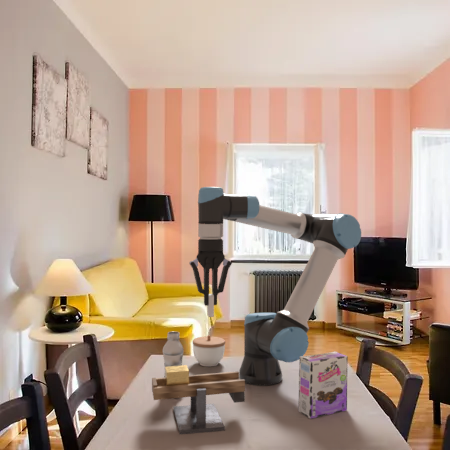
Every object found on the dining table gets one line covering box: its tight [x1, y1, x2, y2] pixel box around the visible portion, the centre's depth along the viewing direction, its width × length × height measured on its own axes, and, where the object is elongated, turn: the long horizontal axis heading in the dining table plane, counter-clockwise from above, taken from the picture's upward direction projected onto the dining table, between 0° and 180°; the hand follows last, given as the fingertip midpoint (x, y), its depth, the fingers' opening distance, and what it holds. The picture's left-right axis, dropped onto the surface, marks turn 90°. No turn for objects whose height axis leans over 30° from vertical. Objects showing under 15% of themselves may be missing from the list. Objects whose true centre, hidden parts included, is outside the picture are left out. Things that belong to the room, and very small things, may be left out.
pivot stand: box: [172, 388, 226, 435], centre depth 133 cm, size 12×16×10 cm
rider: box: [164, 364, 190, 386], centre depth 132 cm, size 6×5×5 cm
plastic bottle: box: [162, 331, 185, 378], centre depth 150 cm, size 6×7×20 cm
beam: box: [151, 371, 246, 403], centre depth 133 cm, size 25×9×7 cm, turn 102°
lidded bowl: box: [192, 334, 226, 367], centre depth 184 cm, size 13×13×11 cm
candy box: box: [298, 351, 349, 420], centre depth 140 cm, size 14×6×16 cm, turn 117°
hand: (210, 315), depth 144 cm, fingers closed
